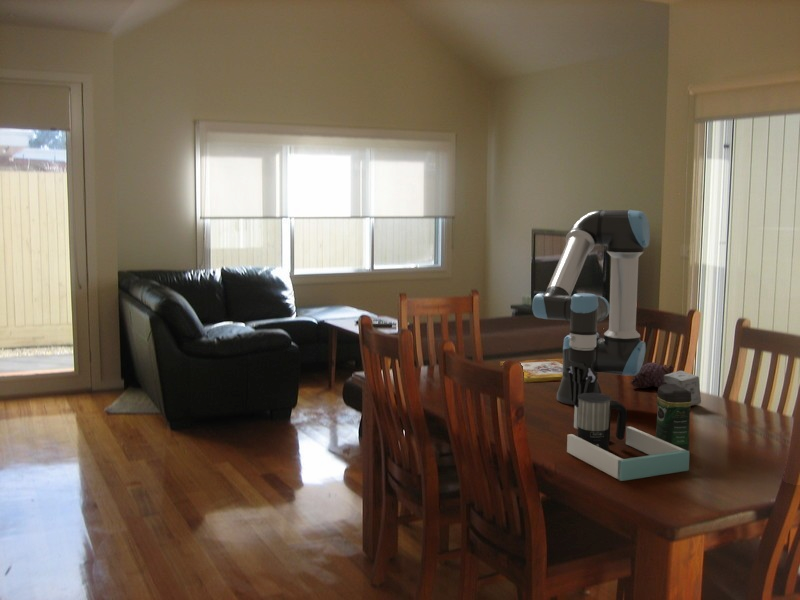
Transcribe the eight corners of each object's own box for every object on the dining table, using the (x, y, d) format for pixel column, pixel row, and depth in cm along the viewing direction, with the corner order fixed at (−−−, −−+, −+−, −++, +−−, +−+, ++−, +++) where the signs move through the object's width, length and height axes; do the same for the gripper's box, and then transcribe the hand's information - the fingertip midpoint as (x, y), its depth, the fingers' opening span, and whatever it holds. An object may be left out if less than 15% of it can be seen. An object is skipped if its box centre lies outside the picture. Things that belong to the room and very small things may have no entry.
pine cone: (641, 393, 298) (629, 367, 301) (631, 400, 307) (620, 375, 311) (684, 377, 302) (672, 351, 305) (674, 384, 311) (662, 359, 314)
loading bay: (566, 452, 234) (567, 434, 233) (630, 443, 241) (630, 426, 241) (621, 481, 211) (621, 461, 210) (688, 470, 219) (689, 451, 218)
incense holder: (662, 401, 287) (663, 371, 285) (682, 399, 289) (684, 369, 288) (680, 409, 278) (681, 378, 276) (701, 406, 280) (702, 376, 279)
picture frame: (562, 358, 349) (593, 374, 319) (562, 363, 349) (592, 380, 320) (499, 361, 343) (525, 378, 314) (499, 366, 344) (525, 383, 314)
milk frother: (586, 455, 231) (589, 402, 228) (556, 437, 245) (558, 387, 243) (630, 449, 236) (633, 398, 234) (597, 432, 250) (600, 384, 248)
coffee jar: (693, 455, 230) (696, 389, 228) (665, 457, 229) (668, 390, 227) (677, 445, 240) (680, 381, 237) (650, 446, 239) (653, 382, 236)
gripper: (559, 344, 246) (556, 422, 250) (584, 352, 235) (580, 435, 238) (581, 342, 249) (577, 420, 252) (606, 351, 237) (602, 432, 241)
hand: (579, 427), depth 245 cm, fingers closed
